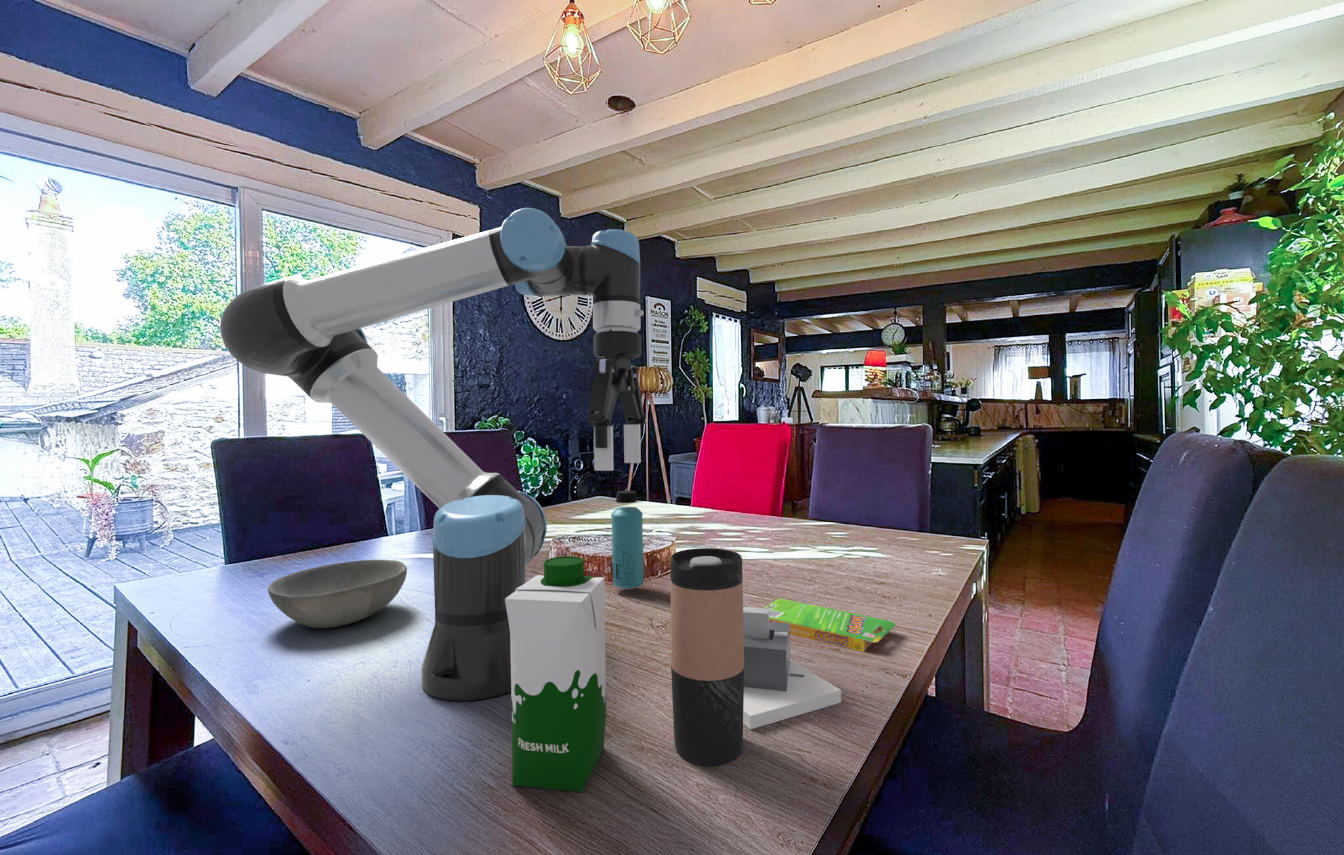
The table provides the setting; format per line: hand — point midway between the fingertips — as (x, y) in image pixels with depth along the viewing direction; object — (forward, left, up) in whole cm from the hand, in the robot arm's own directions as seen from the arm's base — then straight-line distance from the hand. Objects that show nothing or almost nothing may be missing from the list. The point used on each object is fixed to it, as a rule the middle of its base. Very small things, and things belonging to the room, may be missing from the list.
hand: (619, 466), depth 91 cm
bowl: (-41, +29, -27) cm, 57 cm away
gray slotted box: (+9, -24, -25) cm, 36 cm away
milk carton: (-18, -30, -27) cm, 44 cm away
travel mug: (-3, -34, -27) cm, 43 cm away
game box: (+29, -14, -27) cm, 42 cm away
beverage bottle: (+9, +20, -27) cm, 35 cm away
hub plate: (+9, -24, -27) cm, 37 cm away
